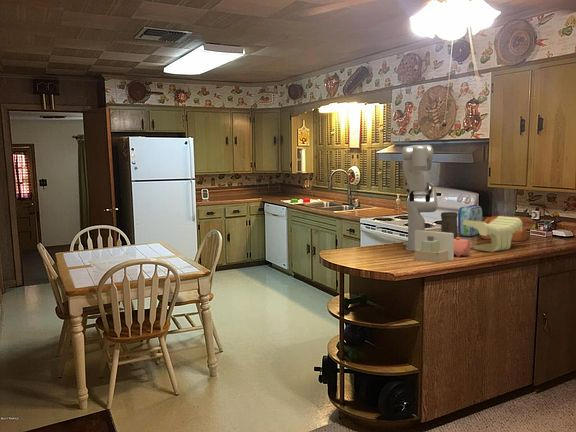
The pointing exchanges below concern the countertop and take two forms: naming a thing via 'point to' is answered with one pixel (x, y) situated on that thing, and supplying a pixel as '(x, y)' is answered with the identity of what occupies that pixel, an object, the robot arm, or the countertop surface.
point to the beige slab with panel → (444, 246)
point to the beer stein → (449, 223)
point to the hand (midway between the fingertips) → (419, 201)
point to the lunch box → (469, 214)
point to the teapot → (461, 247)
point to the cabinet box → (430, 245)
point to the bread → (515, 236)
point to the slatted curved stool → (496, 232)
